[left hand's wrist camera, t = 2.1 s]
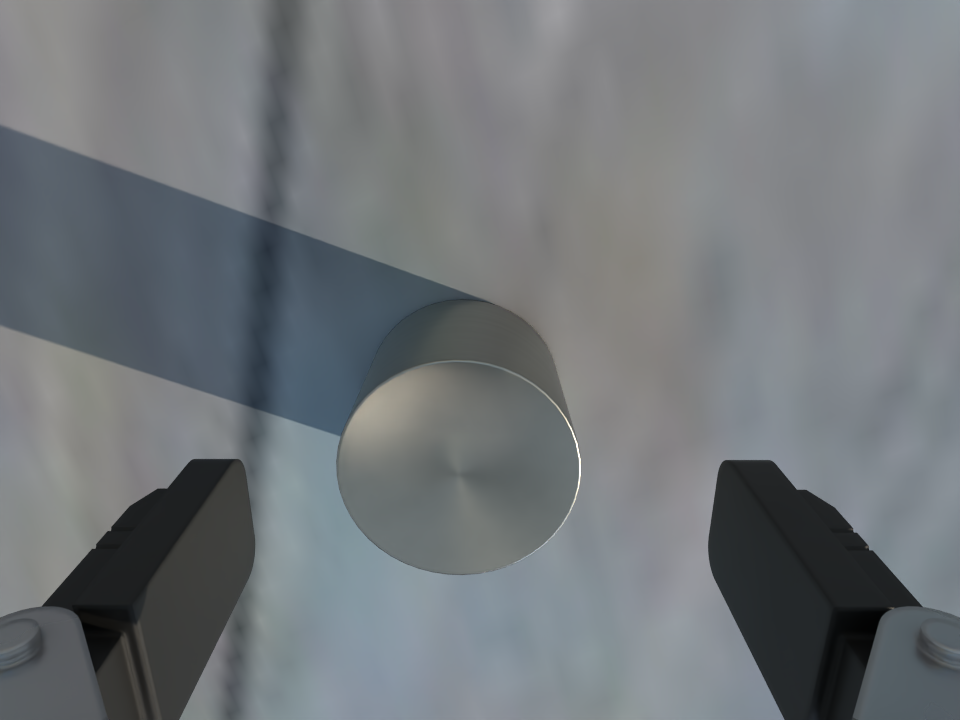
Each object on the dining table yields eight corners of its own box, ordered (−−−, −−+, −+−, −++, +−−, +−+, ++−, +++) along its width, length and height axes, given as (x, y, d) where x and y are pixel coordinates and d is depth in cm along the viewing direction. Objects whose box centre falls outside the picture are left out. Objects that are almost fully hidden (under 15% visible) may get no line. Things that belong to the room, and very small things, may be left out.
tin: (546, 285, 16) (568, 342, 12) (567, 460, 17) (592, 560, 13) (351, 314, 16) (309, 379, 12) (389, 483, 17) (364, 589, 14)
